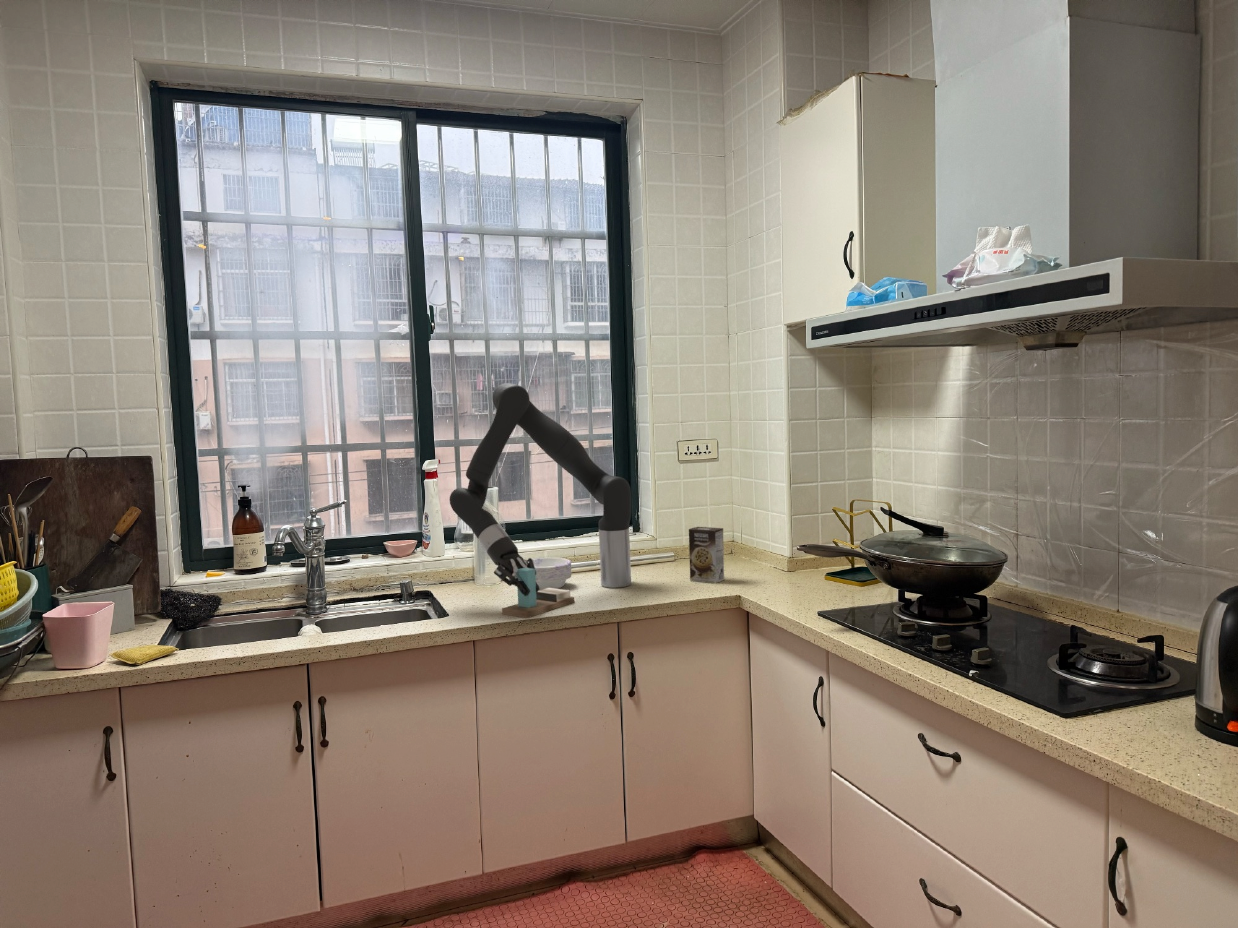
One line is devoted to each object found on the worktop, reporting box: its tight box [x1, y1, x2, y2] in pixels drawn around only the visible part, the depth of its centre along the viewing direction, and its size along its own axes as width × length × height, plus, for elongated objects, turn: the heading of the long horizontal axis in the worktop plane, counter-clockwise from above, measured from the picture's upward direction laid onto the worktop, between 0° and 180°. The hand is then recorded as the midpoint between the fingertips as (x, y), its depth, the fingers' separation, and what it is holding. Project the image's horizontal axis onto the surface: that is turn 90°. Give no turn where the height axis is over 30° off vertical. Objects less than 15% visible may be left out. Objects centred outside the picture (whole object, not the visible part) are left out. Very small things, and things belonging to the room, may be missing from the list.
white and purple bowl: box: [531, 557, 573, 591], centre depth 261 cm, size 15×15×8 cm
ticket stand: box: [501, 588, 575, 619], centre depth 235 cm, size 20×9×4 cm, turn 143°
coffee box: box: [688, 526, 725, 584], centre depth 261 cm, size 9×6×16 cm
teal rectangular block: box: [516, 568, 537, 608], centre depth 231 cm, size 3×4×10 cm
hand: (532, 592), depth 229 cm, fingers closed on teal rectangular block, 3 cm apart
